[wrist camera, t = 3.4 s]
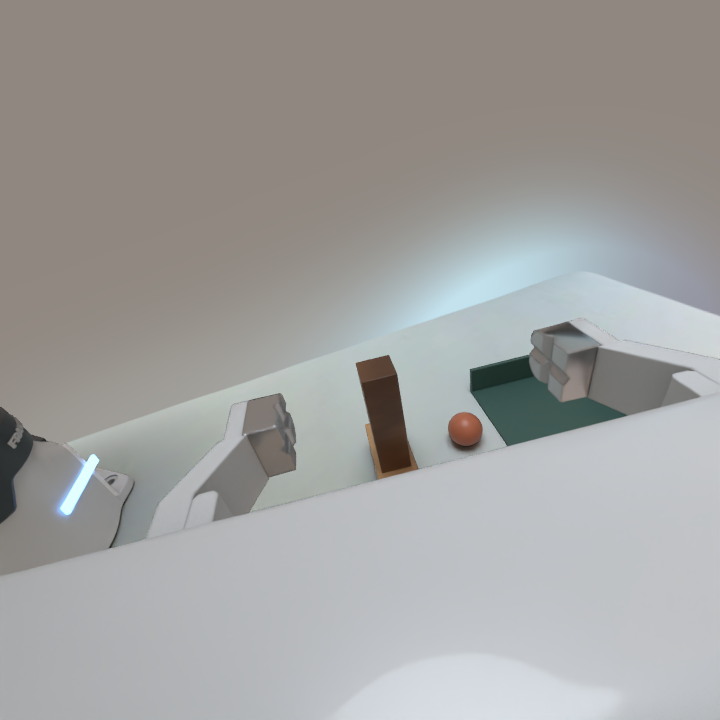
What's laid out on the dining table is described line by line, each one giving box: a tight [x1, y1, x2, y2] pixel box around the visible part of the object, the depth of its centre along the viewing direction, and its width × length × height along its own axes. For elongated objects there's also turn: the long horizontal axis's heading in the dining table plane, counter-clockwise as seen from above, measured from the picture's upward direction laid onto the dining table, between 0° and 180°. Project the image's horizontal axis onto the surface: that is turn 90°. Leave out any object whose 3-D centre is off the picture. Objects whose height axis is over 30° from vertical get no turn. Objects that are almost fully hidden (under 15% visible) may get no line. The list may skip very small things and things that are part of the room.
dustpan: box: [470, 355, 628, 446], centre depth 33 cm, size 21×19×3 cm
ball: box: [448, 412, 483, 446], centre depth 35 cm, size 3×3×3 cm
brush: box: [356, 355, 418, 480], centre depth 30 cm, size 4×10×13 cm, turn 9°
